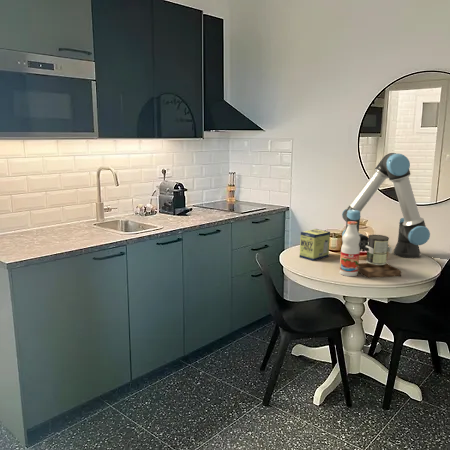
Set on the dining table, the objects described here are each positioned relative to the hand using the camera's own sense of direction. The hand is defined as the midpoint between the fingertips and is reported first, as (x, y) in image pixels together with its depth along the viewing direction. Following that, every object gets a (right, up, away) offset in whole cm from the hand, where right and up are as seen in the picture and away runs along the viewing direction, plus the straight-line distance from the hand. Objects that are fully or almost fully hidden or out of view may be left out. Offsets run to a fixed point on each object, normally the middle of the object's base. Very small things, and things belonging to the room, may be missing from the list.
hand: (381, 250), depth 235 cm
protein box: (-28, -6, +35) cm, 45 cm away
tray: (-1, -12, +7) cm, 14 cm away
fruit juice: (-16, -13, +3) cm, 21 cm away
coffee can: (-1, -7, +6) cm, 9 cm away
